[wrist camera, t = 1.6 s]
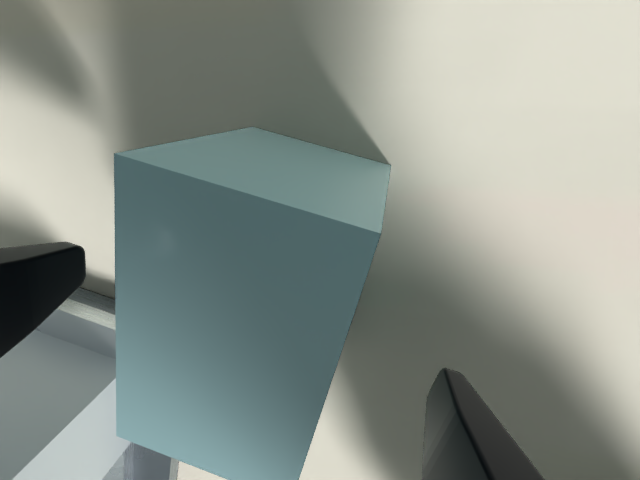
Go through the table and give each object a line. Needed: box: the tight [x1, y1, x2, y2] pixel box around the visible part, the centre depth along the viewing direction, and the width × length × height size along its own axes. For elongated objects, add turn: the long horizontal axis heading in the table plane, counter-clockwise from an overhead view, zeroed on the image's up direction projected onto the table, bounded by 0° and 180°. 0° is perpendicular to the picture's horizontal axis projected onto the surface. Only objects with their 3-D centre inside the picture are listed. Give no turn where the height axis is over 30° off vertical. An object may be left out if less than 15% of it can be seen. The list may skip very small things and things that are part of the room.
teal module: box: [114, 127, 391, 480], centre depth 10 cm, size 4×7×6 cm, turn 166°
